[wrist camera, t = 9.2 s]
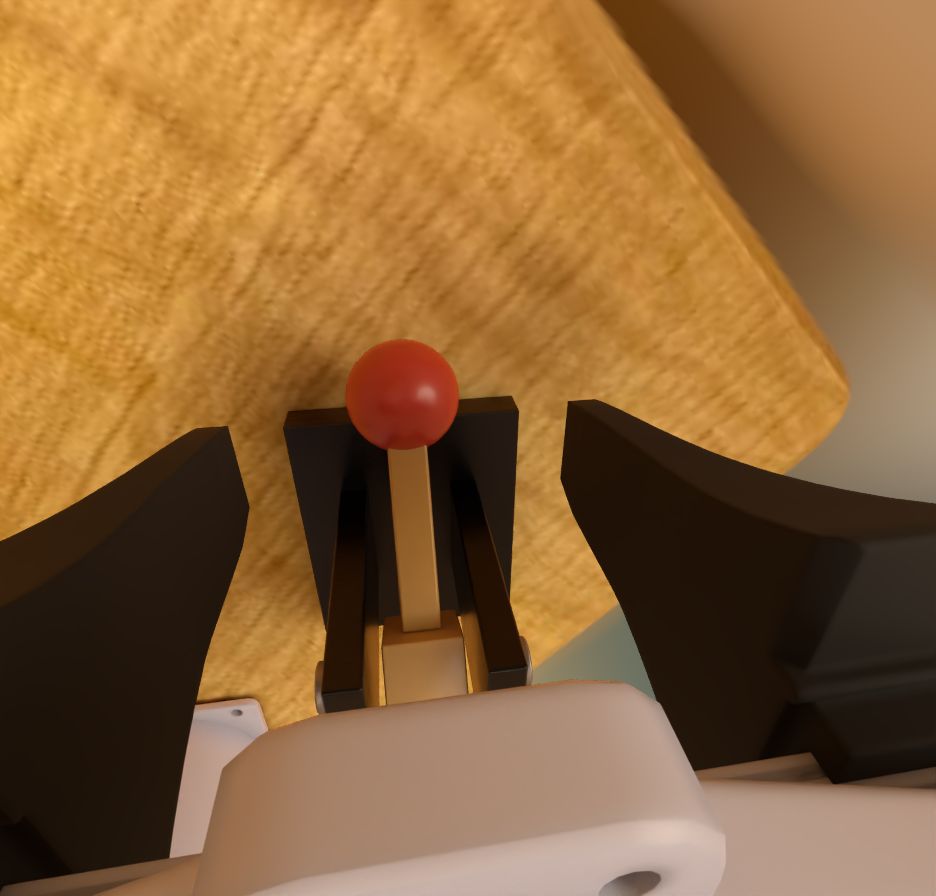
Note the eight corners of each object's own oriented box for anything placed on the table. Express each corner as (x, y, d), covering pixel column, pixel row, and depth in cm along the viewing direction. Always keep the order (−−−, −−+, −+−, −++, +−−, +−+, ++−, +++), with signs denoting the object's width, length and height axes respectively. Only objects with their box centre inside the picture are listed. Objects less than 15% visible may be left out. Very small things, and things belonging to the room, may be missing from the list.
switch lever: (346, 353, 17) (334, 331, 13) (449, 346, 17) (460, 324, 14) (375, 702, 17) (369, 763, 14) (476, 689, 17) (493, 744, 14)
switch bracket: (287, 411, 19) (223, 619, 11) (511, 395, 20) (602, 576, 12) (327, 610, 24) (304, 850, 16) (504, 590, 25) (563, 807, 17)
